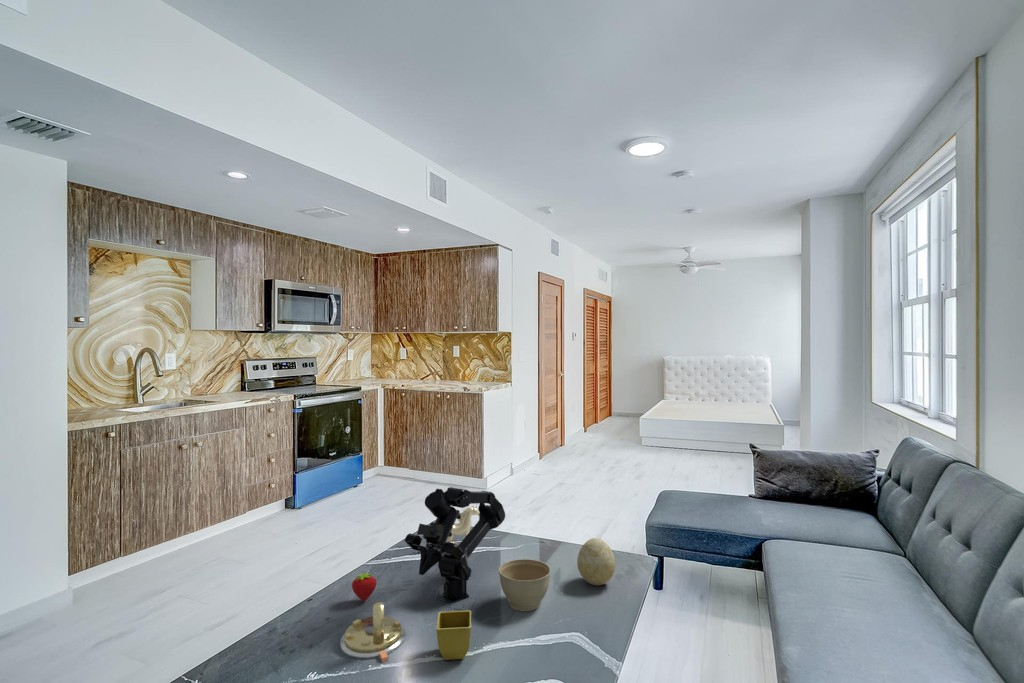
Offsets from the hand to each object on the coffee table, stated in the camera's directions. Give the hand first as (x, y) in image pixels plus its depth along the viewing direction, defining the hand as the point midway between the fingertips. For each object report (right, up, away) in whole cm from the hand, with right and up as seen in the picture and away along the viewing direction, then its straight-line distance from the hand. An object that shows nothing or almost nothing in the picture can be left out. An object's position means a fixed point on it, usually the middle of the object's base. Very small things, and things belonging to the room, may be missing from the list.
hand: (420, 574), depth 147 cm
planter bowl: (+31, -14, +10) cm, 35 cm away
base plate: (-11, -13, -10) cm, 20 cm away
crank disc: (-11, -13, -10) cm, 20 cm away
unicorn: (+5, -15, +55) cm, 57 cm away
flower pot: (+12, -14, -16) cm, 24 cm away
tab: (-6, -13, -18) cm, 23 cm away
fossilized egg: (+55, -14, +24) cm, 62 cm away
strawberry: (-20, -14, +12) cm, 27 cm away
